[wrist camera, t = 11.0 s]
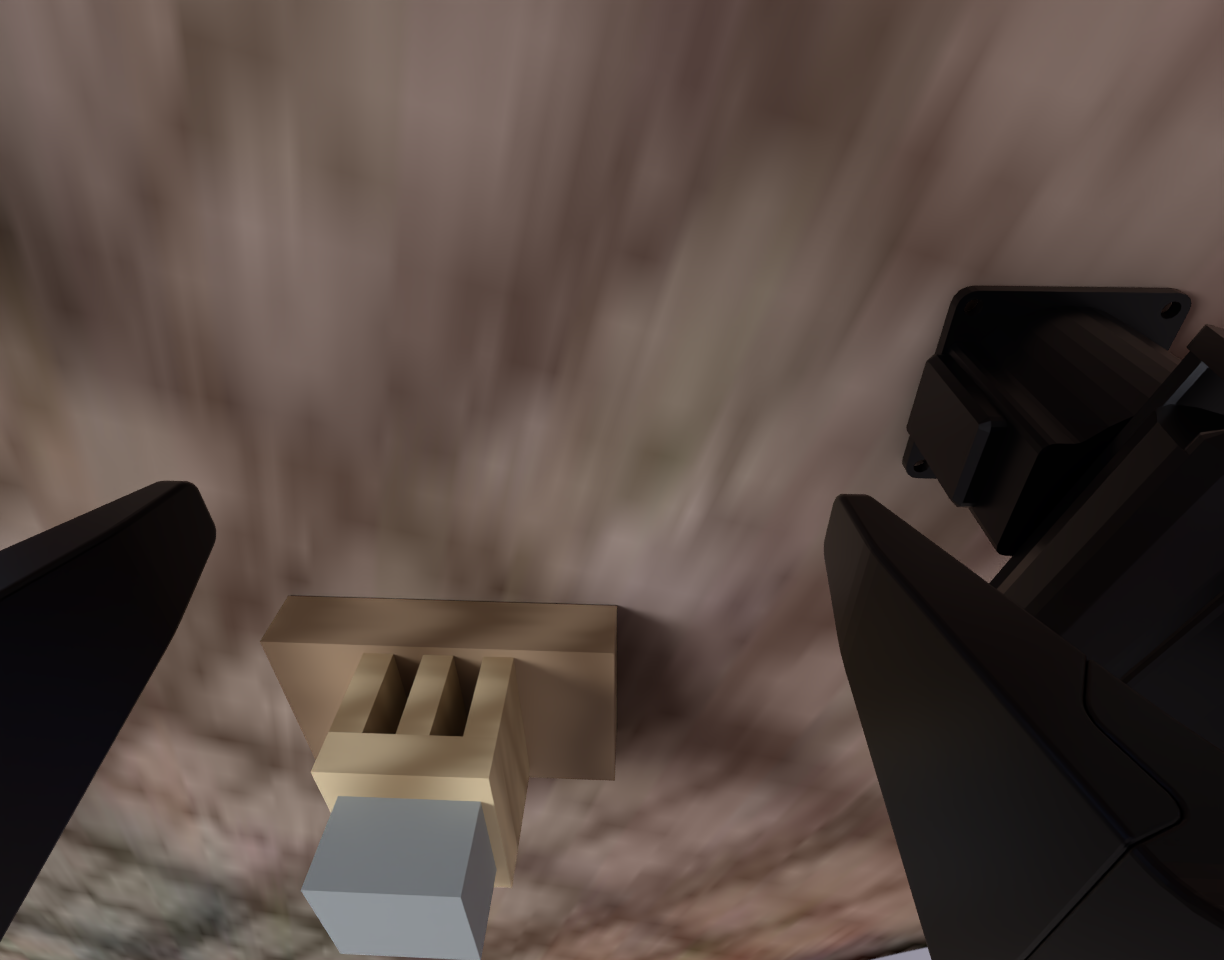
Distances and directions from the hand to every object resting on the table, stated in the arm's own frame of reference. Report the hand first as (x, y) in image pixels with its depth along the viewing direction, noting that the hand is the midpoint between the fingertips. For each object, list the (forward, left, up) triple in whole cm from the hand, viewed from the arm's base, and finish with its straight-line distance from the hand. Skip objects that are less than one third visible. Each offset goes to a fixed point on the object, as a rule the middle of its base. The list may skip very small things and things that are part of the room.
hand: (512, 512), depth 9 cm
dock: (+6, +19, -12) cm, 23 cm away
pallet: (+6, +19, -10) cm, 22 cm away
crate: (+6, +19, -4) cm, 20 cm away
